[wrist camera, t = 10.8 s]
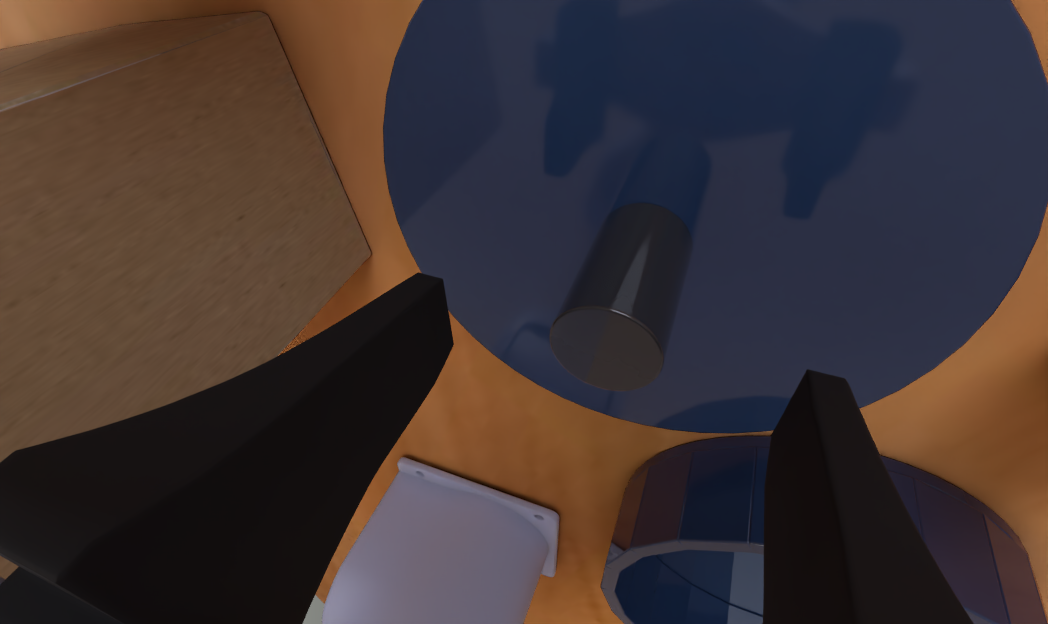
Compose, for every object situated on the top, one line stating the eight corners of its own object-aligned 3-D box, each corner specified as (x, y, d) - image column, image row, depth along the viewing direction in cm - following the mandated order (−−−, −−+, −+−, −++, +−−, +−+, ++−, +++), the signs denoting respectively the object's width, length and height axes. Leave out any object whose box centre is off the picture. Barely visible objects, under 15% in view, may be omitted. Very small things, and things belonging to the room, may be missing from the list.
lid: (438, 342, 22) (368, 444, 18) (346, -154, 11) (138, -137, 8) (849, 459, 17) (858, 620, 14) (1319, -160, 7) (1825, -127, 3)
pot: (610, 554, 28) (590, 632, 26) (648, 389, 19) (622, 487, 16) (908, 664, 25) (920, 770, 22) (1152, 530, 15) (1229, 691, 12)
